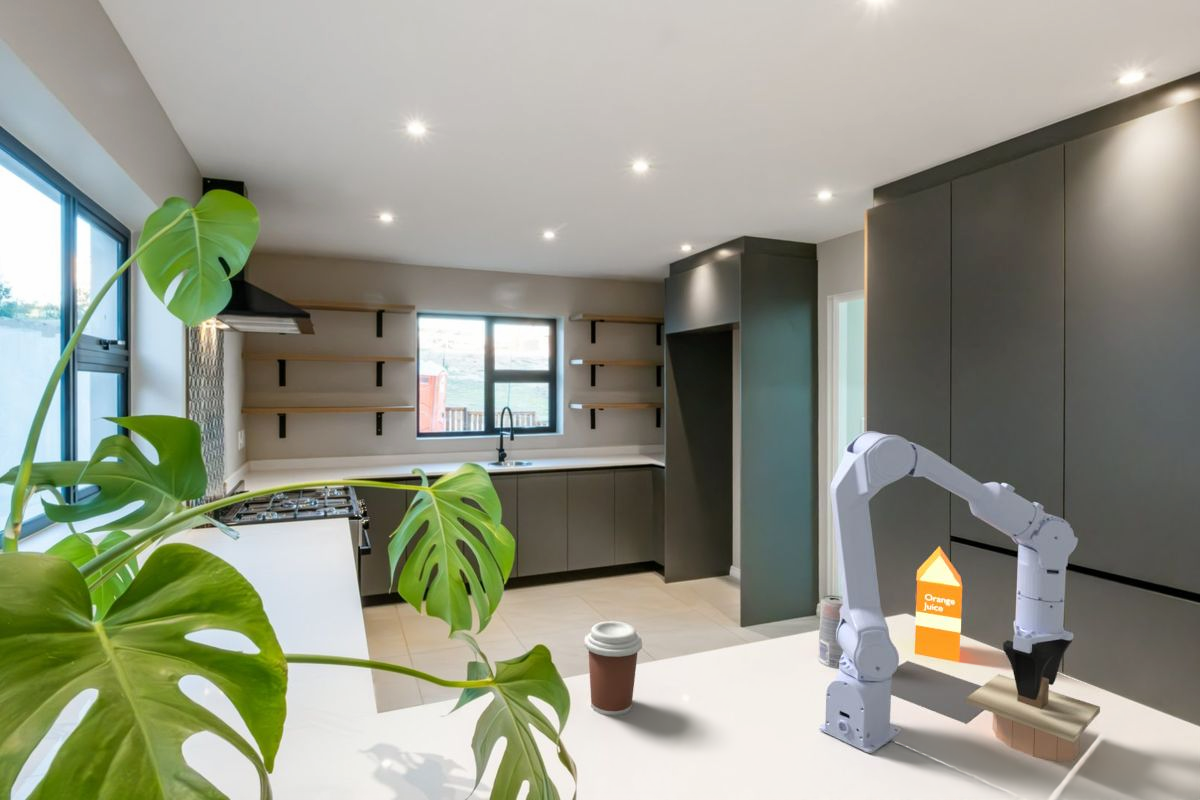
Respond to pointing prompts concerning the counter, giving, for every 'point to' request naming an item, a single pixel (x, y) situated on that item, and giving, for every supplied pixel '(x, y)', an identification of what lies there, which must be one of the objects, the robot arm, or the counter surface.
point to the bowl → (1034, 740)
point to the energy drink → (829, 631)
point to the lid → (1035, 707)
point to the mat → (934, 691)
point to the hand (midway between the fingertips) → (1036, 689)
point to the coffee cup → (612, 666)
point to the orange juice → (938, 609)
